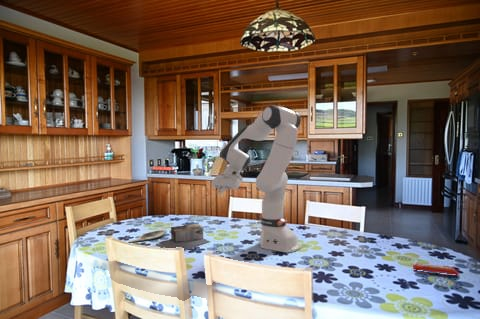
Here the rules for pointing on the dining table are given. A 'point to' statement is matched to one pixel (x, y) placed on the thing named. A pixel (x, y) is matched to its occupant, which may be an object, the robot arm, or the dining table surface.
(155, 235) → the spoon
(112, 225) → the dining table surface
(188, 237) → the coffee box
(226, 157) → the robot arm
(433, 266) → the sausage
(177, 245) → the rubber mat
